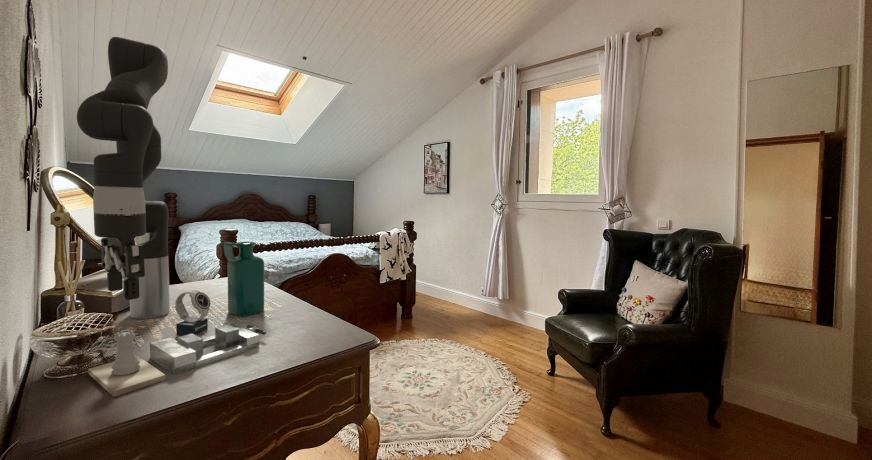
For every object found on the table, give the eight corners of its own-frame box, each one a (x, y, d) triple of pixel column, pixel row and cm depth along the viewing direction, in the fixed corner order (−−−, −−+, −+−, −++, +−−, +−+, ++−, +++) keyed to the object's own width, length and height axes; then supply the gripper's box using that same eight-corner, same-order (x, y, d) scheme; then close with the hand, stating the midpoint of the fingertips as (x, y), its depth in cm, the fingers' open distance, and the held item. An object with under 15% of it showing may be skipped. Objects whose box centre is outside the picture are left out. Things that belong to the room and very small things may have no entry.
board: (88, 373, 74) (88, 368, 74) (137, 360, 81) (137, 355, 81) (113, 396, 67) (113, 391, 66) (165, 379, 73) (165, 374, 73)
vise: (150, 358, 82) (149, 338, 82) (245, 331, 100) (245, 315, 99) (174, 374, 75) (174, 353, 75) (271, 342, 93) (271, 325, 93)
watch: (200, 337, 94) (199, 295, 93) (170, 335, 95) (169, 293, 94) (214, 329, 100) (214, 289, 99) (186, 327, 100) (185, 287, 99)
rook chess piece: (122, 366, 76) (120, 327, 75) (146, 366, 76) (144, 328, 75) (105, 376, 71) (103, 336, 71) (130, 376, 72) (128, 336, 71)
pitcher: (252, 306, 121) (252, 239, 119) (266, 311, 116) (266, 241, 114) (220, 313, 113) (220, 241, 111) (234, 319, 108) (234, 244, 106)
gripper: (82, 208, 71) (85, 291, 73) (108, 214, 64) (111, 306, 65) (130, 208, 78) (132, 284, 79) (159, 213, 70) (161, 297, 71)
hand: (123, 294), depth 72 cm, fingers open, 8 cm apart
